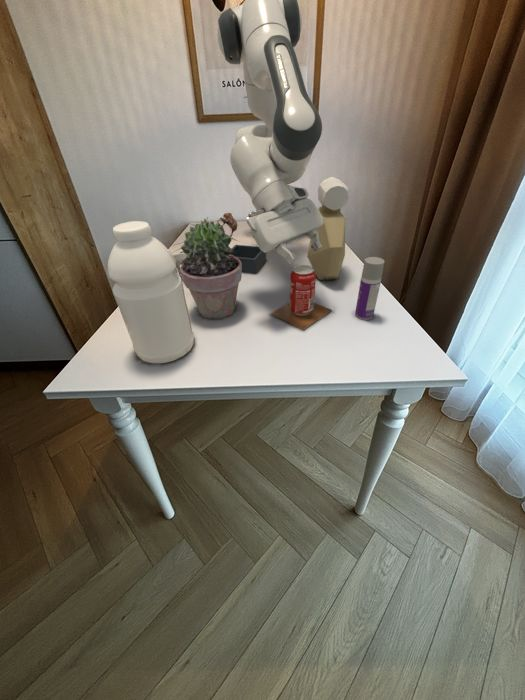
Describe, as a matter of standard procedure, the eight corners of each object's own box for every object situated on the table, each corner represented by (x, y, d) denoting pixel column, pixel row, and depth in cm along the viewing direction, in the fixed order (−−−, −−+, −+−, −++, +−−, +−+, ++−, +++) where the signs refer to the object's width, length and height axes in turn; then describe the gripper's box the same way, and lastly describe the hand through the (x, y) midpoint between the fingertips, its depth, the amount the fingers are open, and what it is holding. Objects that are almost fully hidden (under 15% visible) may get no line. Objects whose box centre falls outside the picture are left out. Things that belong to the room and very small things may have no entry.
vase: (335, 257, 112) (345, 169, 95) (351, 288, 94) (367, 185, 76) (302, 259, 113) (305, 171, 95) (311, 290, 94) (317, 187, 76)
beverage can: (303, 303, 87) (305, 261, 79) (318, 312, 82) (321, 270, 75) (285, 309, 84) (285, 268, 77) (299, 320, 80) (301, 276, 73)
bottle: (199, 328, 80) (176, 213, 62) (189, 363, 69) (158, 236, 51) (145, 330, 80) (107, 216, 63) (126, 365, 69) (75, 239, 52)
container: (351, 312, 83) (360, 258, 74) (366, 309, 84) (376, 255, 75) (361, 321, 79) (372, 265, 70) (377, 317, 81) (389, 262, 71)
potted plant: (167, 311, 87) (143, 218, 72) (224, 288, 97) (214, 202, 81) (200, 338, 76) (180, 236, 61) (261, 310, 86) (257, 215, 70)
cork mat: (299, 298, 90) (299, 296, 90) (331, 311, 84) (331, 309, 83) (271, 314, 84) (271, 312, 83) (303, 330, 77) (303, 328, 77)
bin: (236, 257, 116) (235, 244, 113) (266, 260, 113) (266, 247, 110) (224, 270, 107) (222, 256, 104) (256, 273, 104) (255, 259, 101)
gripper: (249, 205, 65) (284, 262, 65) (310, 187, 76) (339, 236, 76) (237, 223, 70) (269, 276, 70) (295, 204, 81) (323, 249, 81)
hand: (306, 255), depth 73 cm, fingers open, 8 cm apart
